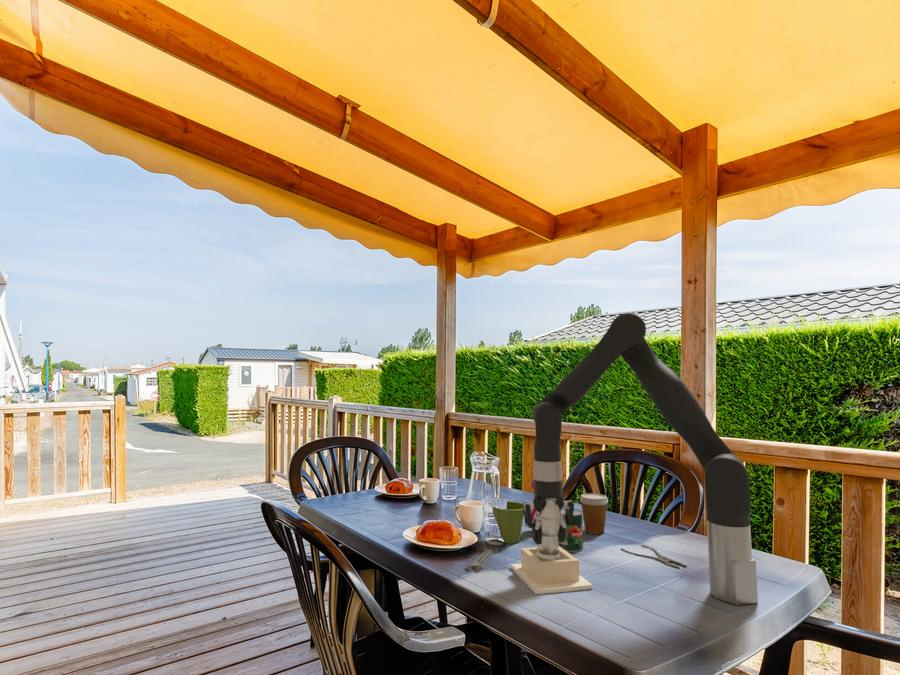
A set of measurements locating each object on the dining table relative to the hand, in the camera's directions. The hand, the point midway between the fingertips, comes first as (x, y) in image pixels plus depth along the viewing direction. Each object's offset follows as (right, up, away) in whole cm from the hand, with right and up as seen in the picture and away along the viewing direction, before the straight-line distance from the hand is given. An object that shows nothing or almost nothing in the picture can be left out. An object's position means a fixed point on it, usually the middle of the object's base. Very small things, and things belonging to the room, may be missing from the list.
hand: (549, 542), depth 131 cm
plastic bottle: (-1, -7, -1) cm, 7 cm away
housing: (0, -9, -1) cm, 9 cm away
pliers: (+35, -11, +16) cm, 40 cm away
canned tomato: (+11, -12, +23) cm, 28 cm away
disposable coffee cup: (+24, -13, +40) cm, 48 cm away
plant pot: (-7, -12, +30) cm, 33 cm away
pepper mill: (+5, -13, +40) cm, 43 cm away
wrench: (-17, -11, +13) cm, 24 cm away
